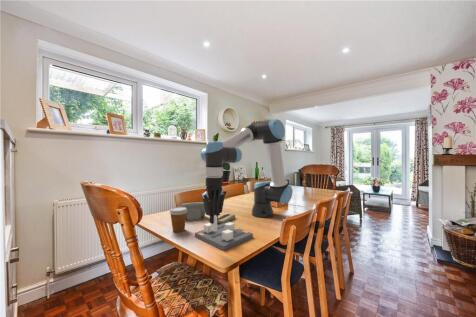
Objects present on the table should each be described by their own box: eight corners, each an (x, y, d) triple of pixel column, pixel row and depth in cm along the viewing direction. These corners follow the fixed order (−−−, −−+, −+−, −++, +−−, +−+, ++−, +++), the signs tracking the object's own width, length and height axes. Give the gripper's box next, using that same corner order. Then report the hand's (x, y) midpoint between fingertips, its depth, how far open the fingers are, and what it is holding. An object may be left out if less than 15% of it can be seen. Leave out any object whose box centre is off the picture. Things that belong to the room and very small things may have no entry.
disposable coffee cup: (165, 232, 110) (165, 210, 110) (176, 226, 119) (176, 205, 119) (180, 234, 107) (180, 211, 107) (190, 228, 116) (190, 207, 116)
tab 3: (228, 236, 99) (228, 229, 98) (233, 238, 96) (233, 231, 96) (221, 239, 96) (221, 231, 96) (226, 241, 93) (226, 233, 93)
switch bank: (223, 226, 118) (223, 223, 118) (252, 237, 103) (252, 233, 103) (194, 236, 104) (194, 232, 104) (223, 250, 89) (223, 246, 89)
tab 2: (229, 228, 109) (229, 222, 109) (234, 230, 107) (234, 223, 107) (224, 230, 106) (224, 223, 106) (228, 232, 104) (228, 225, 104)
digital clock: (206, 215, 139) (206, 200, 139) (205, 220, 130) (205, 203, 130) (181, 216, 138) (181, 201, 137) (179, 221, 129) (179, 204, 128)
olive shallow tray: (224, 217, 138) (224, 212, 138) (235, 219, 134) (235, 214, 134) (211, 224, 124) (211, 218, 124) (222, 226, 120) (222, 220, 120)
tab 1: (209, 229, 108) (209, 222, 108) (214, 230, 106) (214, 224, 106) (203, 231, 105) (203, 224, 105) (207, 233, 103) (207, 226, 103)
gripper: (219, 175, 97) (219, 224, 97) (196, 177, 87) (196, 231, 88) (230, 176, 92) (230, 228, 92) (207, 178, 82) (207, 236, 82)
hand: (213, 230), depth 90 cm, fingers closed
